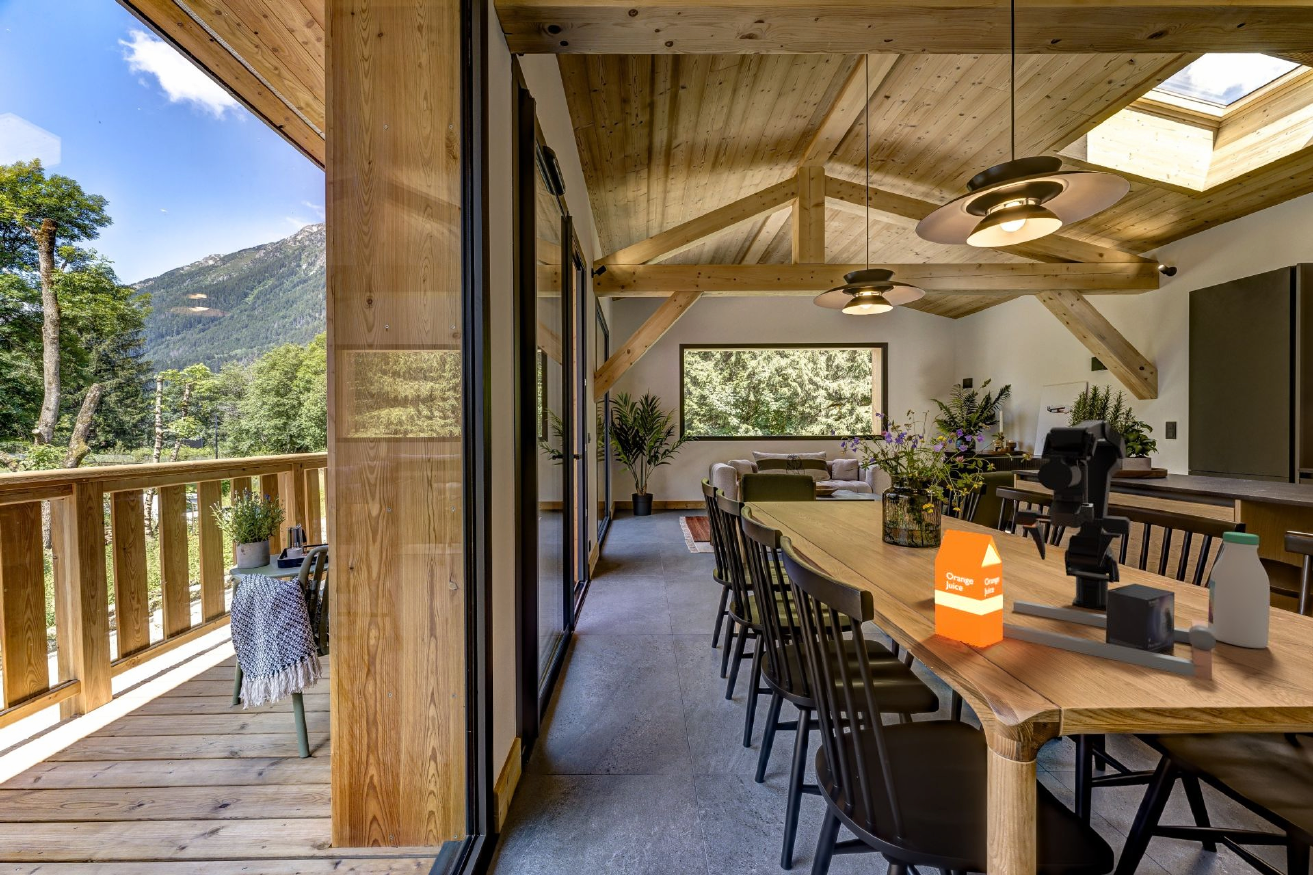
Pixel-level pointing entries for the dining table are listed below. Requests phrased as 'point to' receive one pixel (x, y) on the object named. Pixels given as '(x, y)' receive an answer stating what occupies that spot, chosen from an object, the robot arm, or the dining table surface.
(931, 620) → the dining table surface
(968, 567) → the orange juice
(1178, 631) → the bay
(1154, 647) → the small box
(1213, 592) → the milk bottle
